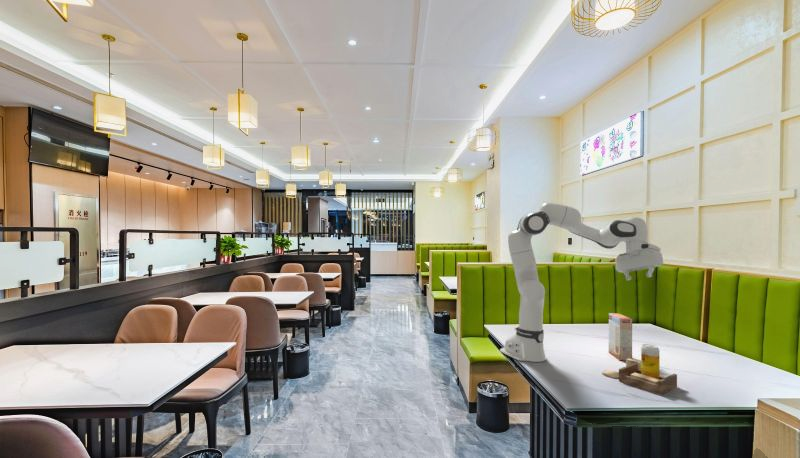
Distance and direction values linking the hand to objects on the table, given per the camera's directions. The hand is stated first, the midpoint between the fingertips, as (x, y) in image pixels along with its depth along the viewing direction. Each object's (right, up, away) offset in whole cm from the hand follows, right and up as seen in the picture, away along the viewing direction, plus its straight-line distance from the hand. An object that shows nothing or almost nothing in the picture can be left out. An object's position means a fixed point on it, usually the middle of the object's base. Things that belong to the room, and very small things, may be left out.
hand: (638, 278), depth 156 cm
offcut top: (+1, -40, +3) cm, 40 cm away
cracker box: (+3, -43, +18) cm, 46 cm away
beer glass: (-6, -41, -15) cm, 44 cm away
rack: (-8, -41, -17) cm, 45 cm away
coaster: (-16, -41, -7) cm, 45 cm away
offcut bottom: (-11, -41, -19) cm, 46 cm away
